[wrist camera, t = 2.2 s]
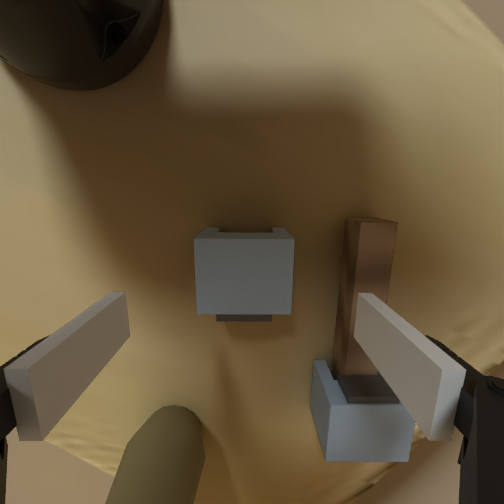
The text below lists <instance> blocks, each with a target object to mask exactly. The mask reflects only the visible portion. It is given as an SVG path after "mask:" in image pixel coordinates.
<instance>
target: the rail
mask: <svg viewBox="0 0 504 504" xmlns="http://www.w3.org/2000/svg"><path fill="white" fill-rule="evenodd" d="M397 224H398V223H397V222H392V221H388V220H383V219H379V218H346V221H345V232H344V243H343V254H342V264H341V275H340V286H339V297H338V308H337V319H336V329H335V340H334V351H333V362H332V373H331V375H332V377H333V379H334V380H338V375H377V368H376V367H375V365H374V364H373V363H372V361H371V360H370V359H369V357H368V356H367V354H366V353H365V352H364V350H363V349H362V348H361V346H360V345H359V343H358V342H357V341H356V339H355V338H354V329H355V320H356V310H357V301H358V293H372V294H374V295H375V296H376V297H377V298H379V299H380V300H381V301H382V302H384V303H385V304H386V303H387V296H388V288H389V281H390V274H391V267H392V260H393V252H394V245H395V238H396V231H397Z"/></svg>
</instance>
